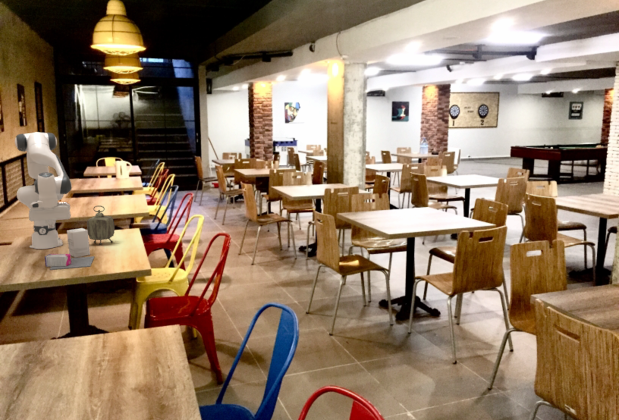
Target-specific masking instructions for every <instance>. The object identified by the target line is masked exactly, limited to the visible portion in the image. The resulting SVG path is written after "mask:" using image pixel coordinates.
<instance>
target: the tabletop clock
mask: <svg viewBox="0 0 619 420" xmlns="http://www.w3.org/2000/svg"><path fill="white" fill-rule="evenodd" d="M98 207H99V208H100V207H101V208H103V210H101V209H98V210H96V209H95V208H98ZM92 209H93V211H94V212H95V215H94V216H92V217H91V218H90V217H89V218H87V222H86V230H88V239H90V240H93V244H96V243H97V241H99V246H102V245H103V243H102V241H104V240H105V241H106V240H109V241H110V243H111V244H112V243H114V240H112V239H111V238H112V237H114V235H115V221H114V217H112V216H111V215H105V214H104V213H103V212H104V211H105V210H106V209H105V207H104V206H103V205H95V206H93V208H92Z"/></svg>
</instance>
